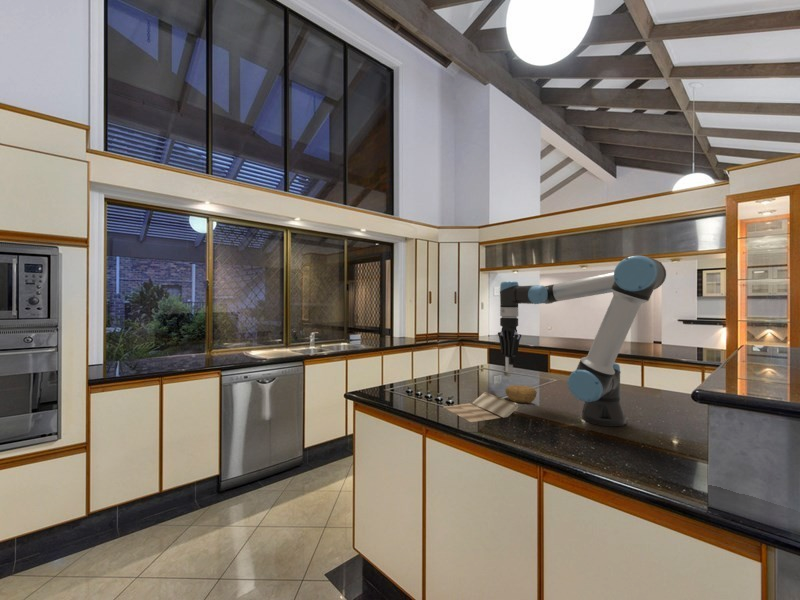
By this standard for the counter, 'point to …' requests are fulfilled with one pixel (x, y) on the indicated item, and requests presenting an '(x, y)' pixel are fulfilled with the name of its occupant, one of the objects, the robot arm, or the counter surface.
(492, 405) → the board
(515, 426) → the counter surface
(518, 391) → the potato
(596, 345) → the robot arm
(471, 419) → the laid boards
